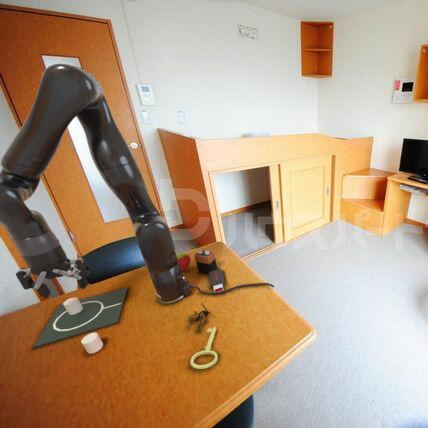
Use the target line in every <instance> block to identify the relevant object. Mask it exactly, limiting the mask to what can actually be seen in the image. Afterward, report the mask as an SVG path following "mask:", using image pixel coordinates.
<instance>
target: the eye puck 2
mask: <svg viewBox="0 0 428 428" xmlns="http://www.w3.org/2000/svg"><path fill="white" fill-rule="evenodd" d="M80 342H81V345H82V347H84V349H85V351H86V353H87V354H91V355H92V354H95V353H97V352H99V351H100V350H101V349H102V348H103V347H104V343H103V341H102V339H101V338H100V336H99V334H98V333H97V332H91V333H88V334H86V335H85V336H83V337H82V339H81V341H80Z"/></svg>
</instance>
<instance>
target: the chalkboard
mask: <svg viewBox="0 0 428 428" xmlns="http://www.w3.org/2000/svg"><path fill="white" fill-rule="evenodd" d="M128 290H129V288H128V287H123V288H120V289H116V290H111V291H109V292H103V293H101V294H97V295H92V296H88V297H85V298H80V299H78V300H79V301H80V303H81V305H82V307H83V309H82V311H80V312H79V313H77V314H74V315H70V314H69V313H68V311H67V310H66V308H65V307H64V305H63V303H61V304H59V305H57V307H56V309H55V311H54V313H52V314H53V315H52V316H51V318H50V319H49V321H48V323H47V324H46V326H45V327H44V329H43V331H42V332H41V334H40V336H39V337H38V339H37V341H36V342H35V344H34V345H33V348H34V349H36V348H40V347H43V346H46V345H49V344H53V343H57V342H60V341H62V340H67V339H70V338H73V337H76V336H79V335H82V334H86V333H89V332H92V331H95V330H99V329H102V328H105V327H108V326H112V325H115V324H118V323H119V320H120V317H121V314H122V311H123V307H124V304H125V301H126V296H127V294H128Z"/></svg>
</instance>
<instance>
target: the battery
mask: <svg viewBox="0 0 428 428" xmlns="http://www.w3.org/2000/svg"><path fill="white" fill-rule="evenodd" d="M194 260H195V264H196V269H197V272H198V273H201V274H207V275H209V272H210V271H214V270H218V265H217V259H216V256H215V252H214V251H210V250H204V249H199V250H198V251H197V252H196V253H195V254H194Z"/></svg>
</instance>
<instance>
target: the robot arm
mask: <svg viewBox="0 0 428 428" xmlns="http://www.w3.org/2000/svg"><path fill="white" fill-rule="evenodd" d="M75 118H76V119H77V120H78V122H79V123H80V126H81V127H82V129H83V133H84V135H85V138H86V142H87V146H88V147H87V148H88V150H89V154H90V156H91V159H92V162H93V164H94V166H95V168H96V170H97V171H98V173H99V175H100V177H101V178H102V180H103V182H104V183H105V184H106V186H107V187H108V188H109V190H110V191H111V193H112V194H113V195H114V196H115V197H116V198H117V199H118V200H119V201H120V202H121V204H122V205H123V206H124V208H125V210H126V212H127V214H128V216H129V219H130V221H131V224H132V227H133V228H132V229H133V233H134V237H135V240H136V243H137V246H138V249H139V251H140V253H141V256H142V259H143V261H144V263H145V266H146V269H147V271H148V274H149V276H150V279H151V282H152V285H153V287H154V290H155V291H154V296H157V299H158V302H159V303H160V304H162V305H171V304H174V303H177V302H179V301H181V300H183V298H186V297H187V296H188V295H189V294H191V293H192V289H197V290H198V293H200V294H202V295H206V296H207V295H209V296H213V295H220V294H225V293H228V292H231V291H233V290H235V289H239V288H245V287H252V286H253V287H255V286H269V287H271V288H275V286H274V284H271V283H268V282H260V283H259V282H258V283H245V284H239V285H236V286H233V287H231V288H228V289H225V290H223V291H220V292H214V291H213V292H207V291H206V292H205V291H202V290H201V288H200V287H199V286H197V285H191V283H190V280H186V279H185V276H184V273H183V272H184V271H182V269H181V268H180V266H179V262H178V259H177V257H178V256H176V255H177V253H176V247H175V244H174V240H173V236H172V232H171V229H170V227H169V225H168V223H167V221H166V220H165V218H164V217H163V216H162V214H161V213H160V211H159V210H158V208H157V207H156V205H155V204H154V202H153V200H152V198H151V196H150V193H149V190H148V186H147V182H146V180H145V177H144V174H143V172H142V170H141V168H140V166H139V163H138V162H137V160H136V158H135V156H134V154H133V152H132V149H131V148H130V146H129V145H128V143H127V140H126V139H125V137H124V136H123V133H122V132H121V131H120V129H119V127H118V125H117V123H116V121H115V119H114V116H113V114H112V111H111V109H110V106H109V103H108V101H107V98H106V95H105V92H104V89H103V86H102V85H101V83H100V81H99V80H98V79H97V78H96V77H95V76H94V75H93V74H92V73H90V72H89V71H88V70H87V69H84V68H82V67H79V66H76V65H72V64H67V63H54V64H51V65H48V66H47V67H46V68H45V69H44V70H43V73H42V76H41V79H40V82H39V85H38V88H37V92H36V95H35V98H34V101H33V104H32V106H31V109H30V110H29V113H28V115H27V116H26V119H25V120H24V122H23V124H22V125H21V127H20V129H19V130H18V132H17V133H16V135H15V136H14V138H13V139H12V141H11V143H10V144H9V146H8V147H7V149H6V150H5V152H4V154H3V155H2V157H1V160H0V167H1V170H0V224H1V225H2V226H3V227H4V229H5V231H6V232H7V234H8V235H9V237H10V238H11V240H12V241H13V244H14V247H15V249H16V250H17V252H18V253H19V254H20V256H21V258H22V260H23V261H24V262H25V264H26V265H27V267H28V268H27V267H21V268H20V269H19V270H18V271H16V273H15V276H16V278H17V279H18V282H19V283H20V285H21V286H22V288H23V290H29V289H33V290H36V292H37V294H38V295H39V296H40V297H42V298H44V299H47V298H49V297H50V295H52V292H51V289H49V287H48V286H47V284H46V283H45V281H46V279H47V280H53V279H55V278H63V277H66V278H73V279H75V280H76V282H77V284H78V286H79V288H80V289H81V290H84V289H86V287H87V286H88V285H89V281H88V279H87V277H88V276H89V275H90V273H91V271H92V268H90V266H89V264H88V262H87V261H86V259H85V258H84V256H81V255H80V256H78V257H77V258H74V259H69V258H68V255H67V254H66V252H65V250H64V248H63V246H62V245H61V242H60V240H59V238H58V237H57V236H56V234H55V233H54V231H53V230H52V229H51V227H50V225H49V224H48V222H47V220H46V218H45V217H44V215H43V214H42V213H41V212H39V211H38V210H34V209H33V210H31V209H30V208H29V207H28V205H27V204H26V203H25V202H26V201H27V200H29V199H30V198H31V197H32V196H34V194H35V192H36V190H37V189H38V187H39V185H40V181H41V180H42V175H43V174H44V173H45V172H46V170H47V169H48V167H49V166H50V164H51V163H52V161H53V160H54V158H55V156H56V154H57V152H58V150H59V148H60V146H61V142H62V140H63V138H64V135H65V132H66V131H67V129H68V127H69V125H70V124H71V123H72V121H73V120H74V119H75ZM73 265H74V266H73ZM31 274H32V275H35V276H38V277H37V279H36V281H34V279H33V277H32V275H31Z"/></svg>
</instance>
